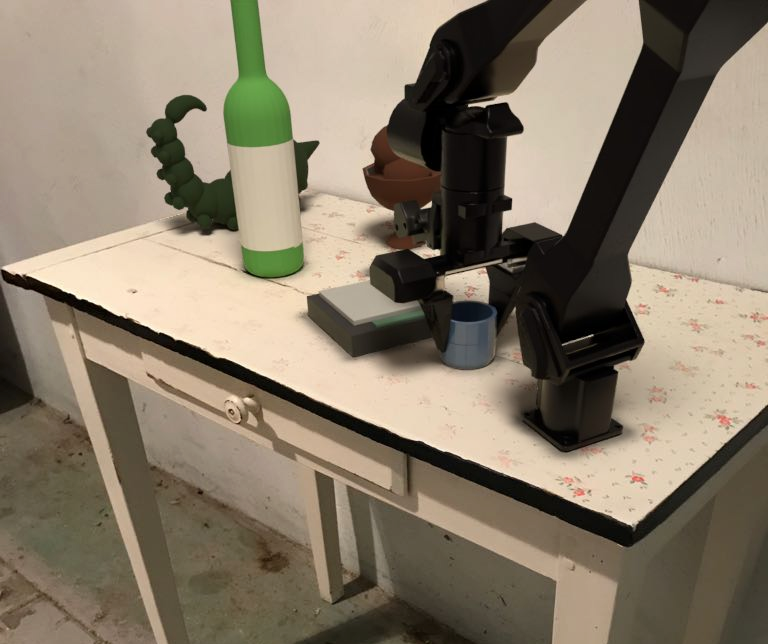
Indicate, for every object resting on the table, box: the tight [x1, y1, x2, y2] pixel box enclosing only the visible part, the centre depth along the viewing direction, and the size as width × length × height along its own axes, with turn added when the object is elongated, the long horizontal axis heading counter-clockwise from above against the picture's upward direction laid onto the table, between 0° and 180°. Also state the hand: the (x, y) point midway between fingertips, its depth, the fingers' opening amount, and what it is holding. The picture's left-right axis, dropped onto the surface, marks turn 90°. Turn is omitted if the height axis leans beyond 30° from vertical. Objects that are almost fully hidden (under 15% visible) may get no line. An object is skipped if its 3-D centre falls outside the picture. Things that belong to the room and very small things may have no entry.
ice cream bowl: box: [362, 125, 441, 250], centre depth 107 cm, size 11×11×15 cm
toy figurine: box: [145, 94, 320, 231], centre depth 116 cm, size 9×19×25 cm
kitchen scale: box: [306, 279, 433, 358], centre depth 90 cm, size 12×12×3 cm
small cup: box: [438, 300, 497, 371], centre depth 82 cm, size 6×6×5 cm
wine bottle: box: [222, 0, 305, 278], centre depth 96 cm, size 8×8×30 cm
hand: (467, 344), depth 82 cm, fingers closed on small cup, 6 cm apart
